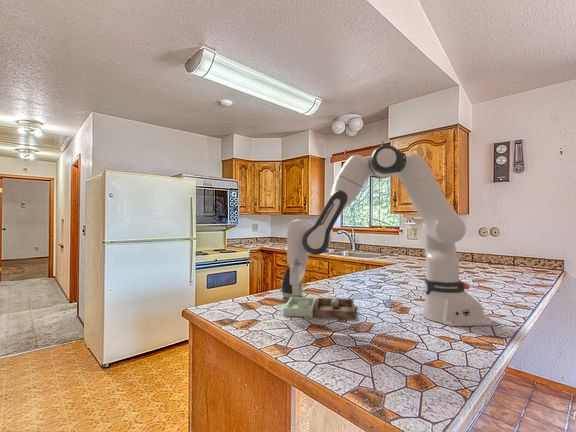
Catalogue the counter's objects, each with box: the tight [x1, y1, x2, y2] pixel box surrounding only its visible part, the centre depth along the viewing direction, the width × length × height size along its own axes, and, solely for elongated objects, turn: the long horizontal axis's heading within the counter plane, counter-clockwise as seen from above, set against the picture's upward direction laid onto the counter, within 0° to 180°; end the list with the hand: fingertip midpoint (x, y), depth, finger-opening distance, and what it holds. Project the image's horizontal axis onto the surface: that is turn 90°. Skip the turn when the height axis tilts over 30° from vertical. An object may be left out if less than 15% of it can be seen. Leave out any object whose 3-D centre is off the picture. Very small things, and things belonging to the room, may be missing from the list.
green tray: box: [283, 296, 317, 318], centre depth 121 cm, size 11×16×4 cm
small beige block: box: [298, 300, 309, 309], centre depth 118 cm, size 4×4×4 cm
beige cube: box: [292, 282, 304, 296], centre depth 125 cm, size 4×4×4 cm
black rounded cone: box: [280, 265, 303, 300], centre depth 140 cm, size 10×10×15 cm
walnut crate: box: [313, 297, 356, 320], centre depth 119 cm, size 15×16×4 cm
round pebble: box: [331, 298, 339, 308], centre depth 123 cm, size 3×3×3 cm
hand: (297, 290), depth 125 cm, fingers closed on beige cube, 4 cm apart
